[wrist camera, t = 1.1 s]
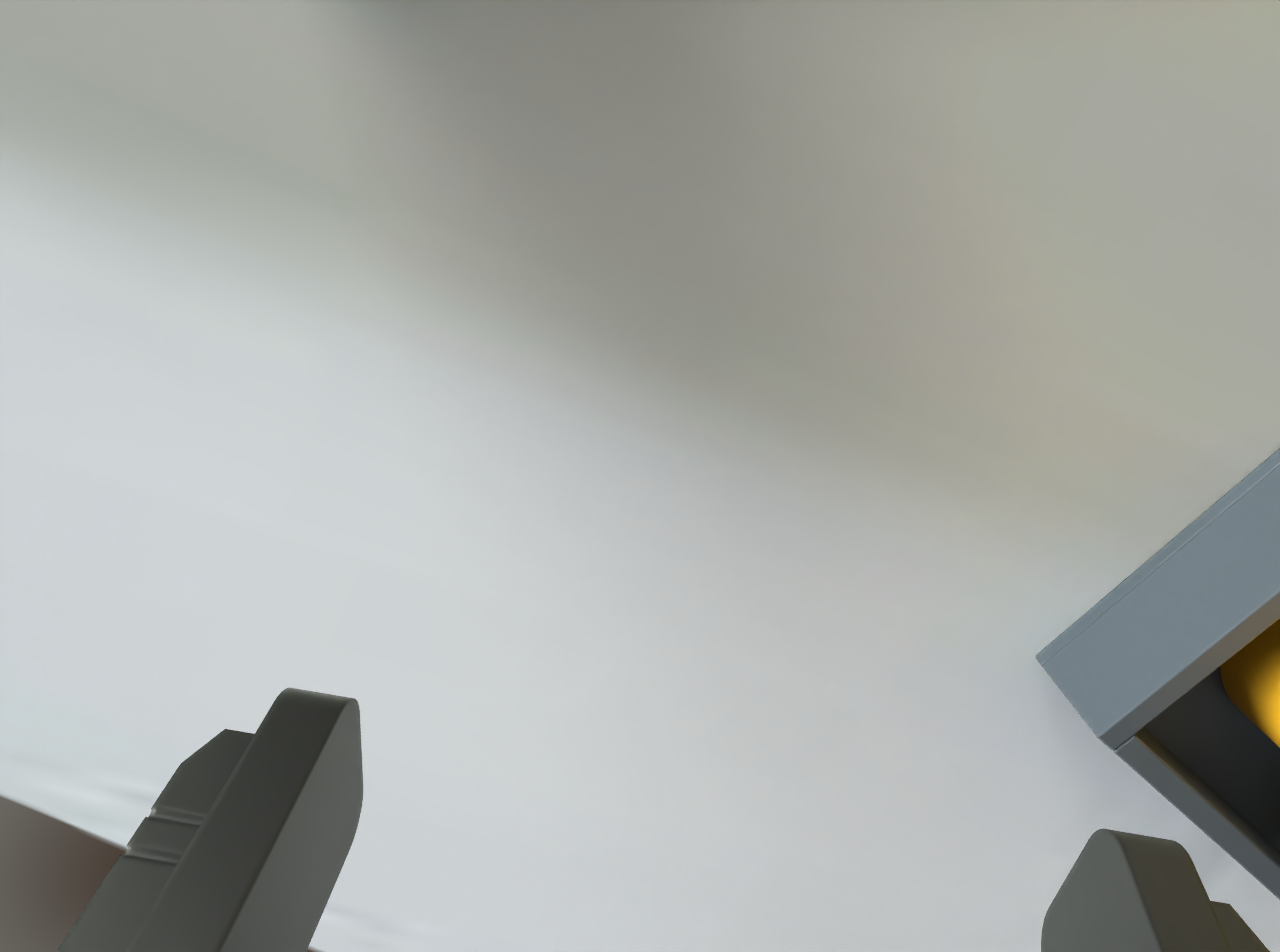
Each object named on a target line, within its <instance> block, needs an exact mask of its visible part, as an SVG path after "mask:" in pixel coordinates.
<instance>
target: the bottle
mask: <svg viewBox="0 0 1280 952" xmlns="http://www.w3.org/2000/svg"><path fill="white" fill-rule="evenodd" d="M1221 677H1222V682H1223V686H1224V688H1225V691H1226V693H1227V695H1228V697H1229V698H1230V700H1231V701H1232V703H1233V704H1234V705H1235V706H1236V707H1237V708H1238V709H1239V710H1240V711H1241V712H1242V713H1243V714H1244V715H1245V716H1246V717H1247V718H1248V719H1250V720H1251V721H1252V722H1253V723H1254V724H1255V725H1256V726H1257V727H1258V728H1259V729H1260V730H1261V731H1262V732H1263V733H1264V734H1265V735H1266V736H1267V737H1269V738H1270V739H1271V740H1272V741H1273V742H1274V743H1275V744H1276V745H1277V746H1278V747H1279V748H1280V619H1278V620H1277V621H1276V622H1275V623H1273V624H1272V625H1271V626H1270V627H1268V628H1267V629H1266V630H1265V631H1263V632H1262V633H1261V634H1260V635H1258V636H1257V637H1256V638H1255V639H1253V640H1252V641H1251V642H1250V643H1248V644H1247V645H1246V646H1245V647H1243V648H1242V649H1241V650H1240V651H1238V652H1237V653H1236V654H1235V655H1233V656H1232V657H1231V658H1230V659H1228V660H1227V661H1226V662H1225V663H1223V664H1222V665H1221Z"/></svg>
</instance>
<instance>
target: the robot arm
mask: <svg viewBox="0 0 1280 952" xmlns="http://www.w3.org/2000/svg"><path fill="white" fill-rule="evenodd" d="M362 800H363V773H362V752H361V731H360V711H359V705H358V702H357V700H356V699H353V698H347V697H341V696H335V695H330V694H324V693H318V692H312V691H306V690H300V689H294V688H287V689H285V690H284V691H282V692H281V693H280V695H279V696H278V697H277V698H276V700H275V701H274V703H273V705H272V706H271V708H270V710H269V711H268V713H267V715H266V716H265V718H264V720H263V721H262V723H261V725H260V726H259V728H258V730H257V732H256V733H255V734H251V733H245V732H240V731H234V730H228V729H225V730H223V731H222V732H221V733H219V734H218V735H217V736H216V737H214V738H213V739H212V740H210V741H209V742H208V743H207V744H205V745H204V746H203V747H202V748H200V749H199V750H198V751H196V752H195V753H194V754H193V755H191V756H190V757H189V758H188V759H186V760H185V761H184V762H182V763H181V764H180V766H179V767H178V769H177V770H176V772H175V773H174V775H173V776H172V778H171V779H170V781H169V782H168V784H167V785H166V787H165V788H164V790H163V791H162V793H161V794H160V796H159V797H158V799H157V800H156V802H155V803H154V805H153V806H152V808H151V814H150V816H149V817H145V819H144V820H143V822H142V823H141V825H140V826H139V828H138V829H137V831H136V832H135V834H134V835H133V837H132V838H131V840H130V841H129V843H128V844H127V849H126V852H125V854H124V855H120V856H119V858H118V859H117V861H116V862H115V864H114V865H113V867H112V868H111V870H110V871H109V873H108V875H107V876H106V878H105V879H104V881H103V882H102V883H101V885H100V886H99V888H98V890H97V891H96V893H95V894H94V896H93V897H92V899H91V900H90V902H89V903H88V905H87V906H86V908H85V909H84V911H83V912H82V914H81V915H80V917H79V918H78V920H77V921H76V923H75V924H74V926H73V927H72V929H71V930H70V932H69V933H68V935H67V937H66V938H65V939H64V941H63V942H62V944H61V945H60V947H59V948H58V950H57V952H306V951H307V948H308V946H309V944H310V941H311V939H312V937H313V934H314V932H315V929H316V927H317V925H318V922H319V920H320V918H321V915H322V913H323V911H324V908H325V906H326V904H327V901H328V899H329V897H330V894H331V892H332V890H333V887H334V885H335V883H336V880H337V878H338V876H339V873H340V871H341V869H342V866H343V864H344V862H345V859H346V857H347V855H348V852H349V850H350V847H351V845H352V842H353V839H354V836H355V833H356V829H357V826H358V822H359V817H360V813H361V807H362ZM1041 952H1270V951H1269V950H1268V949H1267V948H1266V947H1265V945H1264V944H1263V943H1262V942H1261V941H1260V940H1259V938H1258V937H1257V936H1256V935H1255V934H1254V932H1253V931H1252V930H1251V929H1250V928H1249V927H1248V925H1247V924H1246V923H1245V922H1244V921H1243V919H1242V918H1241V917H1240V916H1239V915H1238V913H1237V912H1236V911H1235V910H1234V909H1233V908H1232V906H1231V905H1230V904H1226V903H1220V902H1214V901H1210V900H1209V897H1208V895H1207V893H1206V891H1205V888H1204V886H1203V884H1202V882H1201V879H1200V877H1199V875H1198V873H1197V871H1196V868H1195V866H1194V864H1193V862H1192V860H1191V858H1190V856H1189V854H1188V853H1187V851H1186V850H1185V849H1184V848H1183V847H1182V846H1181V845H1180V844H1179V843H1177V842H1176V841H1172V840H1167V839H1161V838H1155V837H1149V836H1143V835H1137V834H1131V833H1126V832H1120V831H1114V830H1108V829H1099V830H1097V831H1096V832H1095V833H1094V834H1092V836H1091V837H1090V839H1089V840H1088V842H1087V844H1086V845H1085V847H1084V849H1083V850H1082V852H1081V854H1080V856H1079V857H1078V859H1077V861H1076V862H1075V864H1074V866H1073V868H1072V869H1071V871H1070V873H1069V874H1068V876H1067V878H1066V879H1065V881H1064V883H1063V885H1062V886H1061V888H1060V890H1059V891H1058V893H1057V895H1056V897H1055V898H1054V900H1053V902H1052V903H1051V905H1050V907H1049V909H1048V911H1047V913H1046V916H1045V919H1044V923H1043V929H1042V938H1041Z"/></svg>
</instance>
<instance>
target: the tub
mask: <svg viewBox="0 0 1280 952" xmlns="http://www.w3.org/2000/svg"><path fill="white" fill-rule="evenodd" d="M1278 619H1280V449H1278V450H1277V451H1276V452H1275V453H1274V454H1273V455H1271V456H1270V457H1269V458H1268V459H1267V460H1266V461H1264V462H1263V463H1262V464H1261V465H1260V466H1258V467H1257V468H1256V469H1255V470H1254V471H1253V472H1251V473H1250V474H1249V475H1248V476H1247V477H1245V478H1244V479H1243V480H1242V481H1241V482H1240V483H1238V484H1237V485H1236V486H1235V487H1234V488H1233V489H1231V490H1230V491H1229V492H1228V493H1227V494H1225V495H1224V496H1223V497H1222V498H1221V499H1220V500H1218V501H1217V502H1216V503H1215V504H1214V505H1213V506H1211V507H1210V508H1209V509H1208V510H1207V511H1205V512H1204V513H1203V514H1202V515H1201V516H1200V517H1198V518H1197V519H1196V520H1195V521H1194V522H1193V523H1191V524H1190V525H1189V526H1188V527H1187V528H1185V529H1184V530H1183V531H1182V532H1181V533H1180V534H1178V535H1177V536H1176V537H1175V538H1174V539H1173V540H1171V541H1170V542H1169V543H1168V544H1167V545H1165V546H1164V547H1163V548H1162V549H1161V550H1160V551H1158V552H1157V553H1156V554H1155V555H1154V556H1153V557H1151V558H1150V559H1149V560H1148V561H1147V562H1145V563H1144V564H1143V565H1142V566H1141V567H1140V568H1138V569H1137V570H1136V571H1135V572H1134V573H1133V574H1131V575H1130V576H1129V577H1128V578H1127V579H1125V580H1124V581H1123V582H1122V583H1121V584H1120V585H1118V586H1117V587H1116V588H1115V589H1114V590H1113V591H1111V592H1110V593H1109V594H1108V595H1107V596H1105V597H1104V598H1103V599H1102V600H1101V601H1100V602H1098V603H1097V604H1096V605H1095V606H1094V607H1093V608H1091V609H1090V610H1089V611H1088V612H1087V613H1085V614H1084V615H1083V616H1082V617H1081V618H1080V619H1078V620H1077V621H1076V622H1075V623H1074V624H1072V625H1071V626H1070V627H1069V628H1068V629H1067V630H1065V631H1064V632H1063V633H1062V634H1061V635H1060V636H1058V637H1057V638H1056V639H1055V640H1054V641H1052V642H1051V643H1050V644H1049V645H1048V646H1047V647H1045V648H1044V649H1043V650H1042V651H1041V652H1040V653H1038V654H1037V655H1036V656H1035V657H1036V659H1037V660H1038V662H1039V663H1040V664H1041V665H1042V666H1043V668H1044V669H1045V671H1046V672H1047V673H1048V674H1049V676H1050V677H1051V678H1052V680H1053V681H1054V682H1055V683H1056V685H1057V686H1058V687H1059V689H1060V690H1061V691H1062V692H1063V694H1064V695H1065V696H1066V698H1067V699H1068V700H1069V701H1070V703H1071V704H1072V705H1073V707H1074V708H1075V709H1076V710H1077V712H1078V713H1079V714H1080V716H1081V717H1082V718H1083V719H1084V721H1085V722H1086V723H1087V725H1088V726H1089V727H1090V728H1091V730H1092V731H1093V732H1094V734H1095V735H1096V736H1097V737H1098V738H1099V739H1100V740H1101V741H1102V742H1103V743H1104V744H1106V745H1107V746H1108V747H1109V748H1110V749H1112V750H1113V751H1114V752H1115V753H1116V754H1117V755H1118V756H1119V757H1120V758H1121V759H1122V760H1123V761H1125V762H1126V763H1127V764H1128V765H1129V766H1130V767H1131V768H1132V769H1134V770H1135V771H1136V772H1137V773H1138V774H1139V775H1140V776H1141V777H1143V778H1144V779H1145V780H1146V781H1147V782H1148V783H1149V784H1150V785H1152V786H1153V787H1154V788H1155V789H1156V790H1157V791H1158V792H1159V793H1161V794H1162V795H1163V796H1164V797H1165V798H1166V799H1167V800H1168V801H1170V802H1171V803H1172V804H1173V805H1174V806H1175V807H1176V808H1177V809H1179V810H1180V811H1181V812H1182V813H1183V814H1184V815H1185V816H1186V817H1188V818H1189V819H1190V820H1191V821H1192V822H1193V823H1194V824H1195V825H1197V826H1198V827H1199V828H1200V829H1201V830H1202V831H1203V832H1204V833H1205V834H1207V835H1208V836H1209V837H1210V838H1211V839H1212V840H1213V841H1214V842H1216V843H1217V844H1218V845H1219V846H1220V847H1221V848H1222V849H1223V850H1225V851H1226V852H1227V853H1228V854H1229V855H1230V856H1231V857H1232V858H1234V859H1235V860H1236V861H1237V862H1238V863H1239V864H1240V865H1241V866H1243V867H1244V868H1245V869H1246V870H1247V871H1248V872H1249V873H1250V874H1252V875H1253V876H1254V877H1255V878H1256V879H1257V880H1258V881H1259V882H1261V883H1262V884H1263V885H1264V886H1265V887H1266V888H1267V889H1268V890H1270V891H1271V892H1272V893H1273V894H1274V895H1275V896H1276V897H1277V898H1279V899H1280V748H1279V747H1278V746H1277V745H1276V744H1275V743H1274V742H1273V741H1272V740H1271V739H1270V738H1269V737H1267V736H1266V735H1265V734H1264V733H1263V732H1262V731H1261V730H1260V729H1259V728H1258V727H1257V726H1256V725H1255V724H1254V723H1253V722H1252V721H1251V720H1250V719H1248V718H1247V717H1246V716H1245V715H1244V714H1243V713H1242V712H1241V711H1240V710H1239V709H1238V708H1237V707H1236V706H1235V705H1234V704H1233V703H1232V701H1231V700H1230V698H1229V697H1228V695H1227V693H1226V691H1225V688H1224V686H1223V682H1222V677H1221V665H1222V664H1223V663H1225V662H1226V661H1227V660H1228V659H1230V658H1231V657H1232V656H1233V655H1235V654H1236V653H1237V652H1238V651H1240V650H1241V649H1242V648H1243V647H1245V646H1246V645H1247V644H1248V643H1250V642H1251V641H1252V640H1253V639H1255V638H1256V637H1257V636H1258V635H1260V634H1261V633H1262V632H1263V631H1265V630H1266V629H1267V628H1268V627H1270V626H1271V625H1272V624H1273V623H1275V622H1276V621H1277V620H1278Z"/></svg>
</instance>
